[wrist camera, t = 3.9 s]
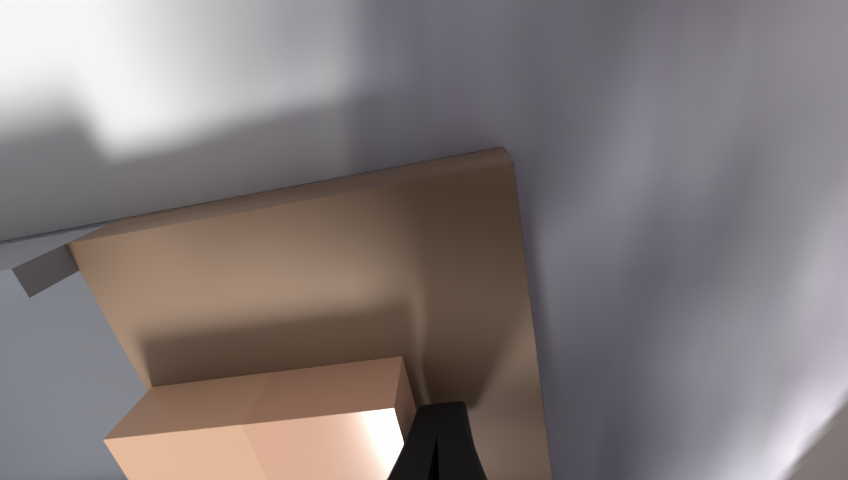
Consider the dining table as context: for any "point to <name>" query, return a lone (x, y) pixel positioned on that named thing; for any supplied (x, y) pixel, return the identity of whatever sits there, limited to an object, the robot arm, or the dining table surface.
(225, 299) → the board
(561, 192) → the dining table surface
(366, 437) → the tile
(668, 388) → the dining table surface
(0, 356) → the tray
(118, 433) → the tile
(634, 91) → the dining table surface
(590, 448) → the dining table surface
